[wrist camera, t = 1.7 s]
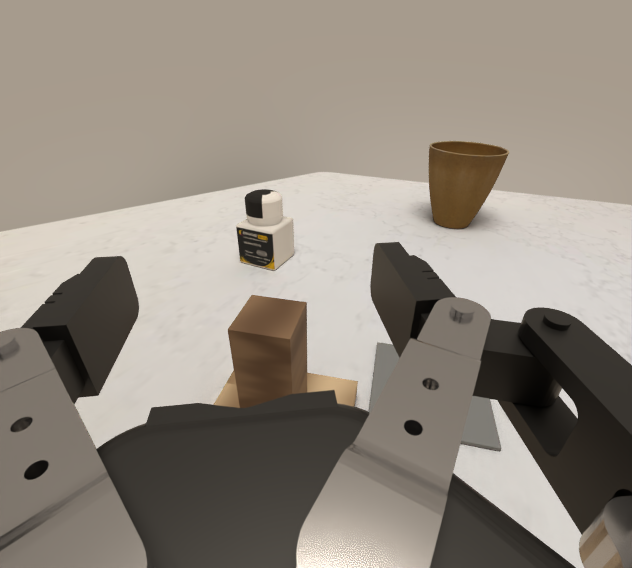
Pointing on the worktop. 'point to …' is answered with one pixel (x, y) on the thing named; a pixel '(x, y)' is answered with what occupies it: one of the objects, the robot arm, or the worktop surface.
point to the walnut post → (269, 349)
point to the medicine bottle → (265, 231)
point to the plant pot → (461, 179)
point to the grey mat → (480, 413)
